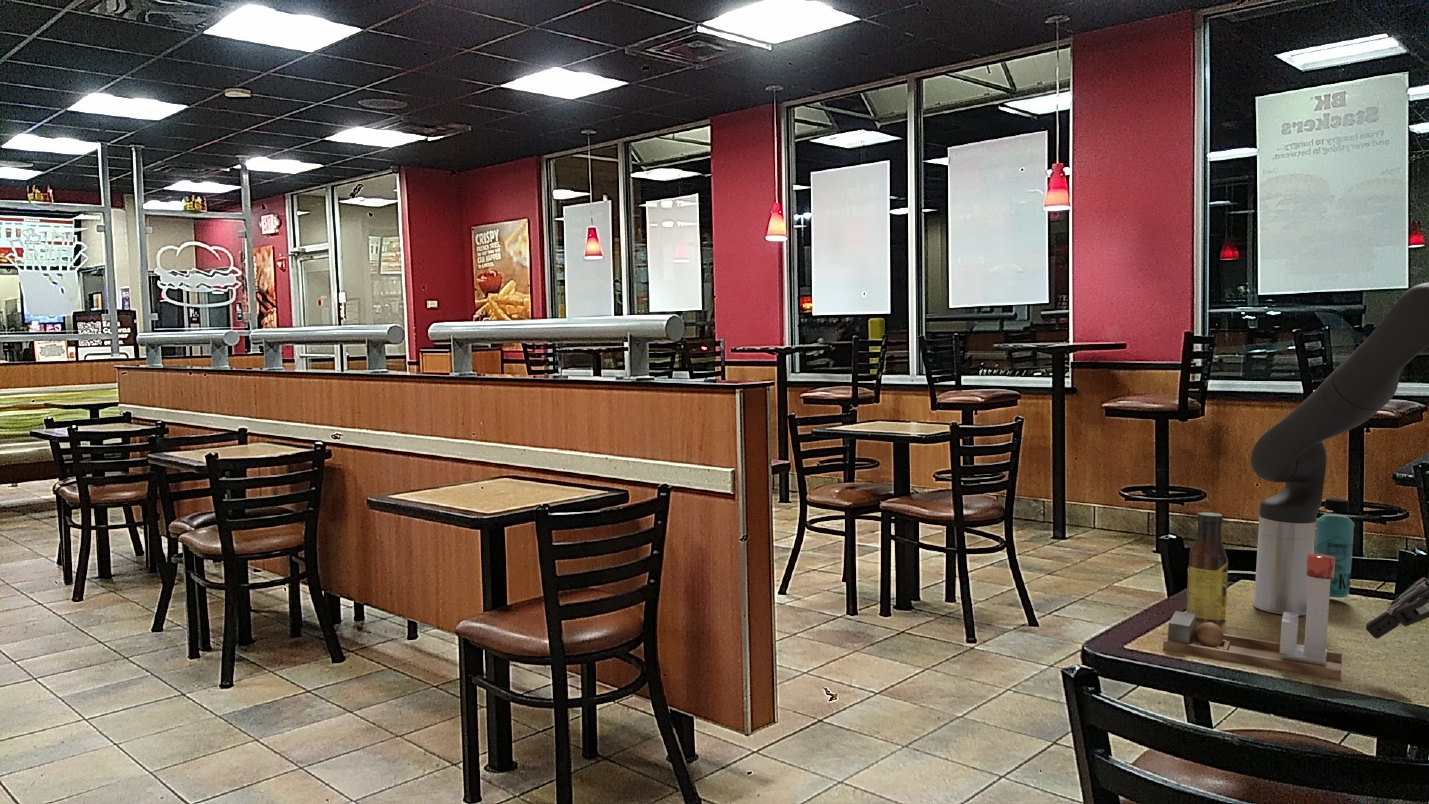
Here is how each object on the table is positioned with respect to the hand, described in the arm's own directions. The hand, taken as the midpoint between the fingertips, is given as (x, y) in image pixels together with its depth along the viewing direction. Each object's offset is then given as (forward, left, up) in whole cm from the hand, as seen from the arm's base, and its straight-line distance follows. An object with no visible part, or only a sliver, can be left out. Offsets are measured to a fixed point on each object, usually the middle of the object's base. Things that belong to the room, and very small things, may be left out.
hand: (1370, 632), depth 149 cm
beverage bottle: (-48, +16, -8) cm, 51 cm away
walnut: (-9, -19, -6) cm, 22 cm away
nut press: (-7, -14, -8) cm, 17 cm away
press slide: (-4, -7, -6) cm, 10 cm away
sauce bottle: (-27, -14, -8) cm, 31 cm away
